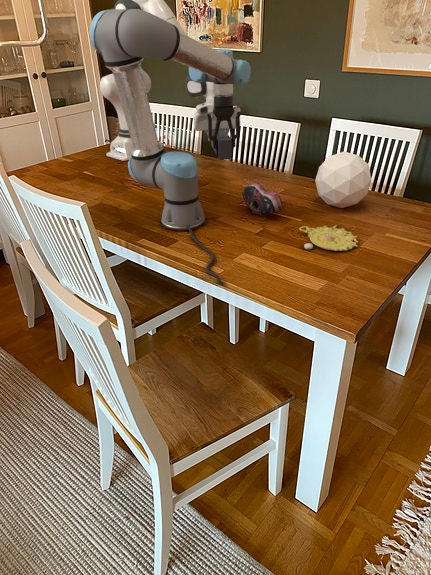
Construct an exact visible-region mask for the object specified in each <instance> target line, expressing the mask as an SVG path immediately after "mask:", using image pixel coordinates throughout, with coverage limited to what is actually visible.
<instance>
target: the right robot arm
mask: <svg viewBox="0 0 431 575" xmlns="http://www.w3.org/2000/svg"><path fill="white" fill-rule="evenodd" d="M89 39H90V43H91V46H92V47H93V49H94V50H95V51H96V52H97V53H98V54H100V55H101V56H102V58H103V61H104V65H105V67H106V68H107V69H108V70H110V71H112V74H113V75H114V79H115V82H116V86H117V90H118V93H119V97H120V101H121V104H122V108H123V111H124V115H125V119H126V122H127V126H128V130H129V133H130V137H131V140H132V144H133V147H132V149H131V150H130V153H131V155H130V157H129V160H128V162H127V169H128V172H129V175H130V177H131V178H132V180H134V181H136V182H137V183H140V184H141V185H144V186H148V187H152V188H155V189H158V190H161V191H163V194H164V204H163V209H162V213H161V219H160V220H161V225H162V227H163V228H165V229H167V230H170V231H175V232H176V231H177V232H185V231H186V232H187V231H189V234H190V236H191V239H192V240H193V241H194V243H196V244H197V245H198V246H199V247H200V248H202V250H204V251H205V252H206V253H208V254H209V256H211V260H210V261H209V263H208V264H207V265H206V269H205V270H206V273H207V275H209V276H212V277H214V278H215V279H216V280H217V282H218V284H219V286H223V281H222V279H221V278H220V275H219V276H218V274H216V273H214V272H212V271H210V267H211V266H212V264H213V263H214V262H215V258H216V257H215V255H214V253H213V252H212V251H211V250H210V249H209V248H207V247H206V246H204V245H203V244H202V242H200V241H199V240H198V239H197V238H196V237H195V235H194V232H193V230H195V229H198V228H201V227H202V226H203V225H204V224H205V223H206V217H205V212H204V210H203V208H202V204H201V202H200V196H199V168H198V162H197V160H196V158H195V156H193V155H192V154H190V153H188V152H184V151H176V150H175V151H173V150H172V151H168V152H166V150H165V146H164V143H163V142H162V141H160V140H159V139H158V136H157V131H156V127H155V123H154V119H153V118H154V117H153V114H152V109H151V106H150V102H149V97H148V93H147V92H146V88H145V84H144V80H143V76H142V71H141V68H142V66H141V64H142V62H143V61H144V58H151V59H157V60H161V61H163V62H169V61H174V62H176V63H179V64H181V65H184V66H185V67H188V76H189V75H190V78H191V79H192V80H193V81H194V82H196V83H203V82H213V86H214V95H215V96H214V109H213V111H212V112H210V113H207V114H206V115H207V117H208V135H207V139H208V138H209V139H210V140H213V148H214V149H216V153H215V157H216V158H218V157H219V152H218V140H217V135H218V131H219V127H220V123H221V121H224V120H225V121H227V122H228V126H229V133H230V136H231V137H230V138H231V139H232V157H233V156H234V148H236V139H239V138H241V116H242V112H240V111H236V110H234V108H233V106H234V96H233V94H234V85H235V86H244V85H246V84H247V83H248V82H249V80H250V79H251V74H252V73H251V72H252V70H251V65H250V63H249V62H248V61H247V60H243V59H235V58H234V54H233V51H232V49H228V48H227V49H226V48H220V49H214V48H212V47H210V46H209V45H206V44H205V43H202V42H200V41H198V40H196V39H194V38H192V37H191V36H189V35H188V36H186V35H184V34H182V33H180V32H179V29H178V28H177V27H176V26H175V25H173V24H171V23H169V22H167V21H165V20H163V19H161V18H159V17H157V16H155V15H153V14H151V13H149V12H146V11H143V10H140V9H114V8H111V9H106V10H102V11H99V12H98V13H96V14H95V15H94V17H93V18H92V20H91V23H90V25H89ZM140 66H141V67H140ZM213 114H214V115H215V116H216V118H217V120H216V125H215V130H214V134H213V136H212V118H213ZM233 114H235V116H236V117H235V120H236V129H235V130H234V129H233V126H232V122H231V117H232V115H233ZM213 148H212V149H213ZM214 149H213V150H214ZM224 370H226V371H227V368H226V367H224V368H223V371H224Z"/></svg>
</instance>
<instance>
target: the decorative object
mask: <svg viewBox="0 0 431 575" xmlns="http://www.w3.org/2000/svg"><path fill="white" fill-rule="evenodd" d="M303 228H304V229H305V230H304V229H303ZM299 231H300V232H303V233H305V234H307V237H308V238H309V240H310V241H311V243H304V244H303V248H304V249H305V250H313V249H314V245H315V246H316V247H318V248H321V249H324V250H328V251H335V252H341V251H348V250H352V249H354V247H356V248H358V247H359V245H358V244H357V243H359V240H357V238H359V237H358V235H353V234H352V231H347V230H346V229H345V228H344V227H342V228H338V224H335V225H333V226H331V227H328V226H327V225H326V224H325V225H323V226H322V227H321V226H317V227H316V228H314V227H309V226H308V225H302V226H300V227H299ZM313 244H314V245H313Z"/></svg>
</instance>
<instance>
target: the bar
mask: <svg viewBox="0 0 431 575" xmlns="http://www.w3.org/2000/svg"><path fill="white" fill-rule="evenodd" d="M214 130H215V129H212V136H213V134H214ZM230 136H231V135H230V134H229V133H228V134H227V132H226V131H225V129H219V131H218V135H217V140H218V152H219V157H217V158H218V160H219V161H224V160H225V161H226V160H232V159H233V156H232V139H231V138H232V137H230ZM210 145H211V148H212V149H213V151H214V153H215V154H216V149H214V148H213V140H211V141H210Z"/></svg>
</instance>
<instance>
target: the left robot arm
mask: <svg viewBox="0 0 431 575" xmlns="http://www.w3.org/2000/svg"><path fill="white" fill-rule="evenodd" d="M113 9H140V10H143V11H146V12H149V13H151V14H153V15H155V16H157V17H159V18H161V19H163V20H165V21H167V22H169V23H171V24H173V25H175V26H176V27H177V28H178V29H179V32H180V33H182V34H184V35H186V36H188V37H189V35H188V34H187V33H186V32H185V30H184V29H183V27H182V26H181V23H180V22H179V21H178V19H177V17H176V15H175V14H174V12H173V11H172V9H171V7H169V5H168V4H167V3H166V1H165V0H116V2H115V4H114V7H113ZM140 67H141V71H142V76H143V80H144V84H145V88H146V92H147V94H148V93H149V92H150V90H151V88H152V80H151V78H150V76H149V74H148V73H147V72H146V71H145V70H144V69H143V68H142V66H141V65H140ZM184 89H185V92H186V93H187V95H188V96H190V97H191V98H195V99H198V98H200V97H201V98H202V97H205V102H202V103H199V104H197V105H196V106H195V111H196V112H195V113H194V116H193V129H194V130H195V131H196V132H202V131H203V132H204V131H205V134H206V135H207V136H208V117H207V115H206V114H207V113H210V112H212V111H213V109H214V96H215V95H214V86H213V82H203V83H196V82H194V81H193V80H192V79H191V78H190V75H189V74H188V75H187V76H186V78H185V81H184ZM99 90H100V93H101V95H102V96H103V98H105V99H107V100H108V101H109V102H110V103H111V104H112V105H113V107H114V109H115V111H116V114H117V118H118V124H119V128H117V129H116V131H115V132H116V133H117V134H118V135H117V136H116V137H115V138H114V139H113V140H112V141H111V140H110V139H104V143H107V142H108V143H109V145H110V146H109V148H110V151H108V152H106V154H105V155H106V156H107V157H110V158H112V159H116V160H119V161H122V162H125V161H129V157H130V155H131V153H130V150H131V149H132V147H133V144H132V140H131V137H130V133H129V130H128V126H127V122H126V119H125V115H124V111H123V108H122V104H121V101H120V97H119V93H118V90H117V86H116V82H115V79H114V75H113V73H110V74H106V75H105V76H102V77H101V78H100V81H99ZM233 108H234V110H236V111H240V112H241V111H242V110H241V108H240V106H238V105H233ZM241 113H242V112H241ZM235 117H236V116H235V114H233V115H232V117H231V122H232V126H233V130H234V129H235V130H236V120H235ZM216 120H217V118H216V116H215V115H214V114H213V118H212V129H215V125H216ZM219 129H224V130H225V131H226V132H227V134H228V135H229V133H230V129H229V126H228V122H227V121H225V120H224V121H221V123H220V127H219ZM207 139H208V142H211V140H210V139H209V138H208V137H207Z"/></svg>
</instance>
